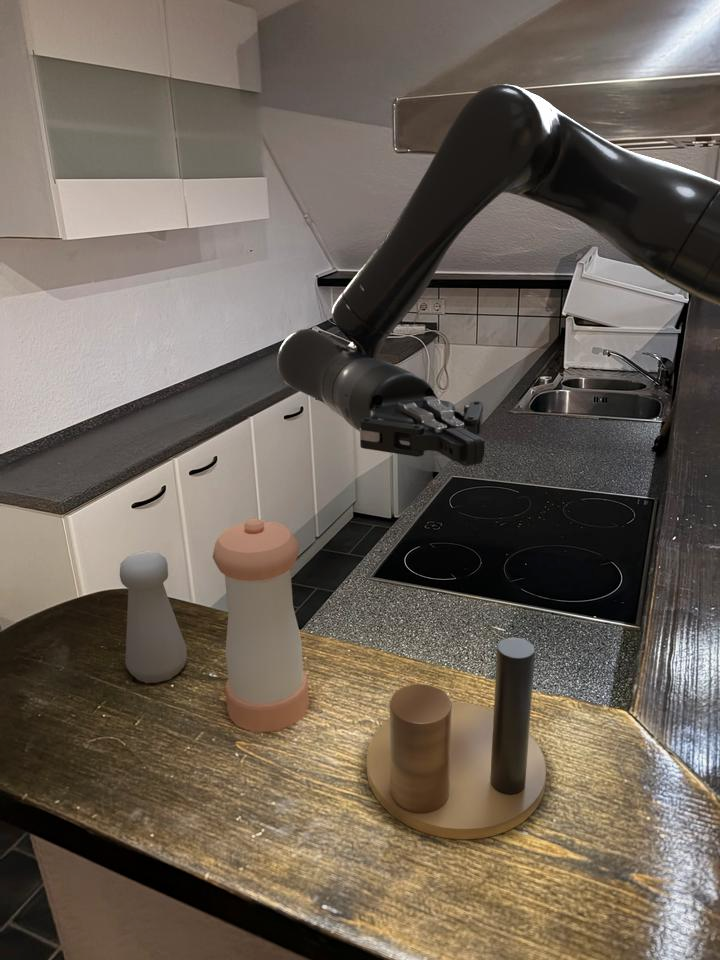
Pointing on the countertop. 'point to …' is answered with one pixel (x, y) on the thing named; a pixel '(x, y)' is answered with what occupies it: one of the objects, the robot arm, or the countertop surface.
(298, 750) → the countertop surface
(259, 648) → the pepper shaker
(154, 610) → the salt shaker
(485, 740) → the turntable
